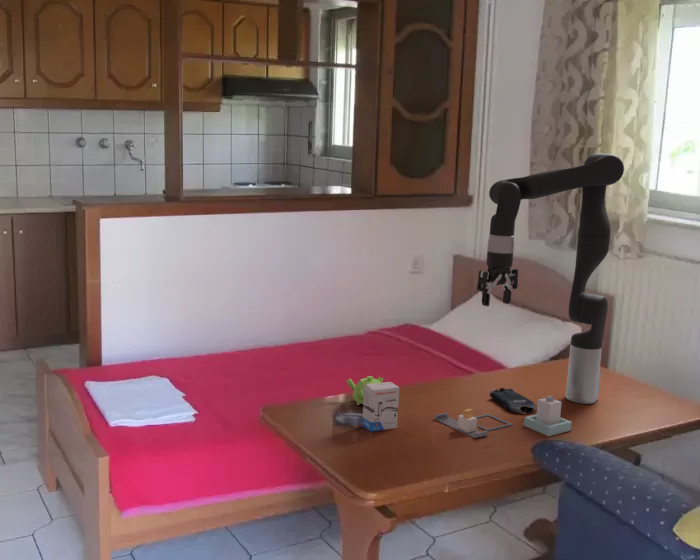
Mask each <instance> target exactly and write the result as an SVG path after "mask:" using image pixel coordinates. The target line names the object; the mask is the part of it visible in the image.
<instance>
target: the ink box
mask: <svg viewBox="0 0 700 560" xmlns="http://www.w3.org/2000/svg"><path fill="white" fill-rule="evenodd" d="M399 398H400V387H399V386H398V385H397V384H395V383H393V382H390V381H387V382H382V383H374V384H366V385H365V386H364V400H363V405H362V421H361V422H362V424H363V425H362V424H361V426H362V427H363V428H364V429H367V431H369V432H371V433H372V432H379V431H386V430H390V429H391V430H392V429H397V427H398V416H399V415H398V414H399Z"/></svg>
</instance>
